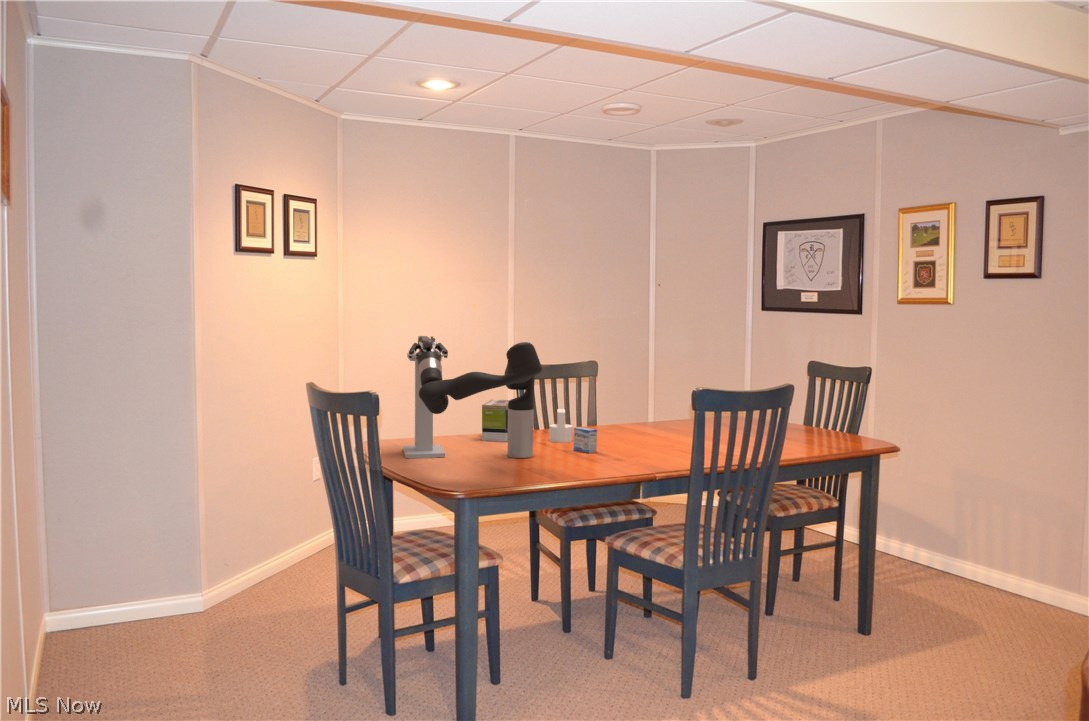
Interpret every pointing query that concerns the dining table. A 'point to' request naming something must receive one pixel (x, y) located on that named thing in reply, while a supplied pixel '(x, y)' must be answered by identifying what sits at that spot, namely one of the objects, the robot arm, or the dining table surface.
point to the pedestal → (422, 426)
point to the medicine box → (585, 440)
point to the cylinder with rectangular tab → (560, 429)
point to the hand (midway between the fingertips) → (426, 338)
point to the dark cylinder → (426, 342)
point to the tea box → (495, 420)
